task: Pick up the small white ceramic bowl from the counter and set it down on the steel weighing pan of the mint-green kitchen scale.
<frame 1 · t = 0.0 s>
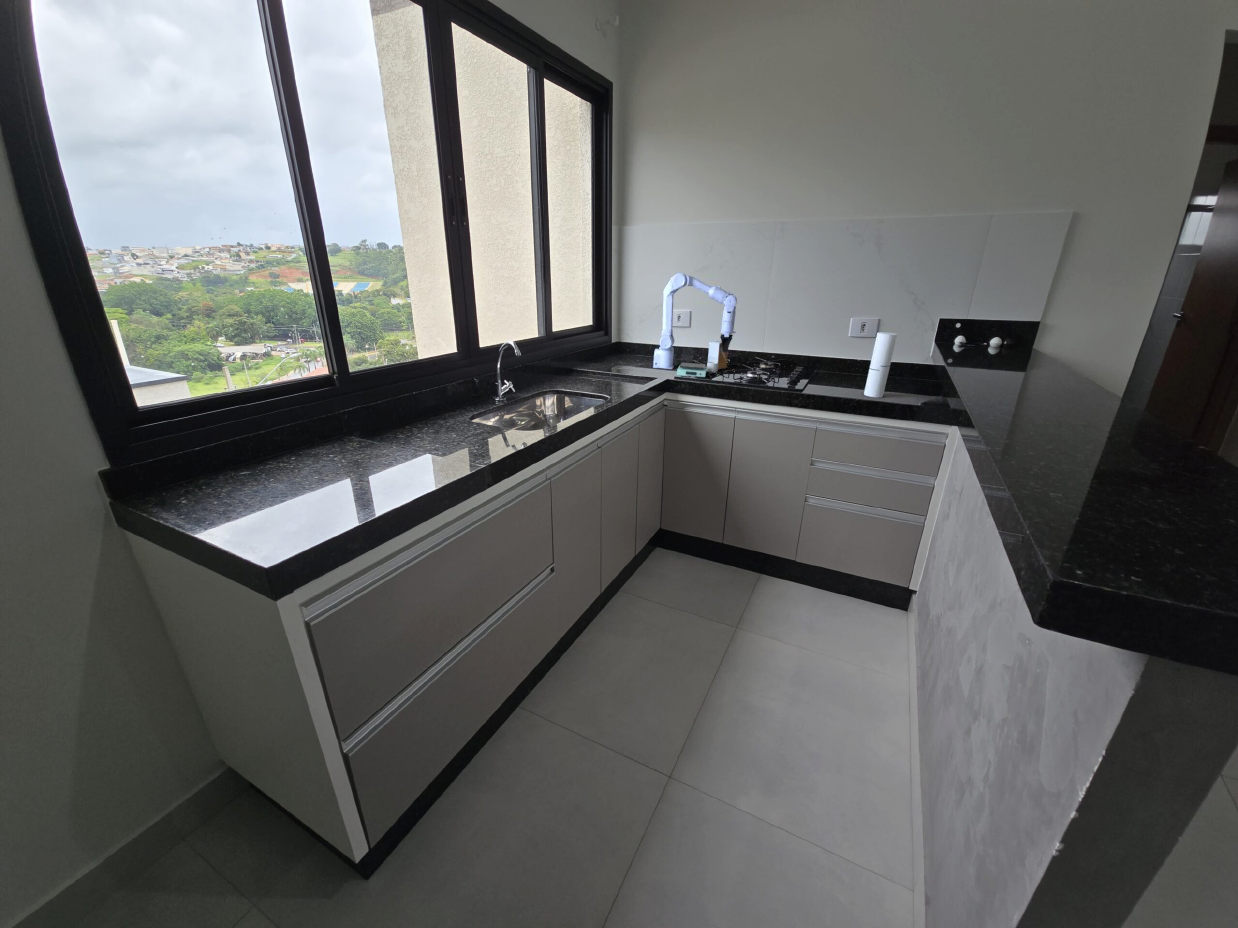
hand: (724, 350, 241), 10 cm above the countertop, tool pointing down, fingers open, 7 cm apart
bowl: (711, 371, 244), on the countertop
cylindrical container: (873, 395, 209), on the countertop
scale: (691, 373, 237), on the countertop
small box: (716, 368, 254), on the countertop
scale pan: (692, 366, 236), point 4 cm above the countertop, slide at 0.0 cm
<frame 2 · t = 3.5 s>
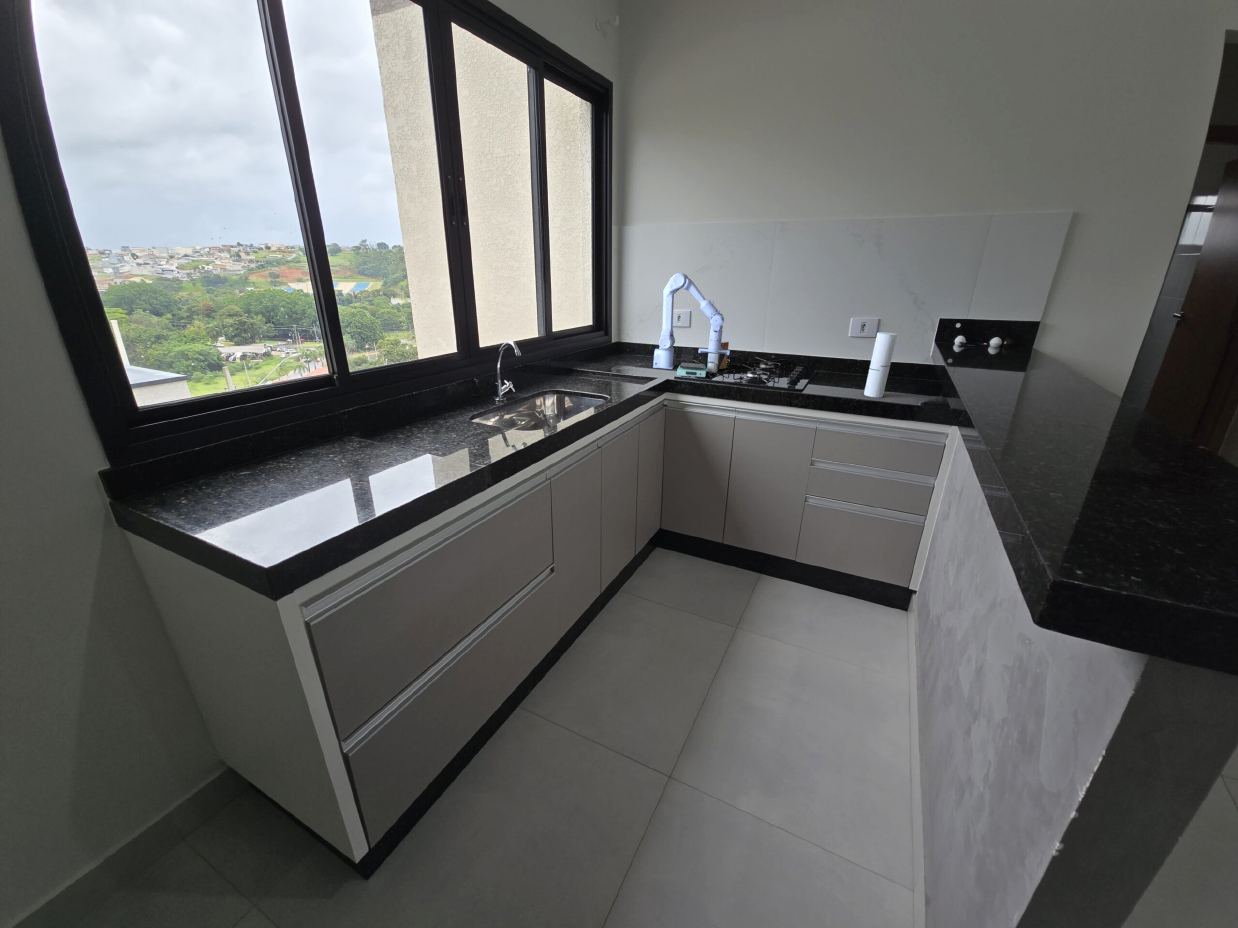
hand: (712, 369, 243), 1 cm above the countertop, tool pointing down, fingers closed on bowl, 5 cm apart
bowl: (711, 371, 244), on the countertop, touching gripper
everything else where it was.
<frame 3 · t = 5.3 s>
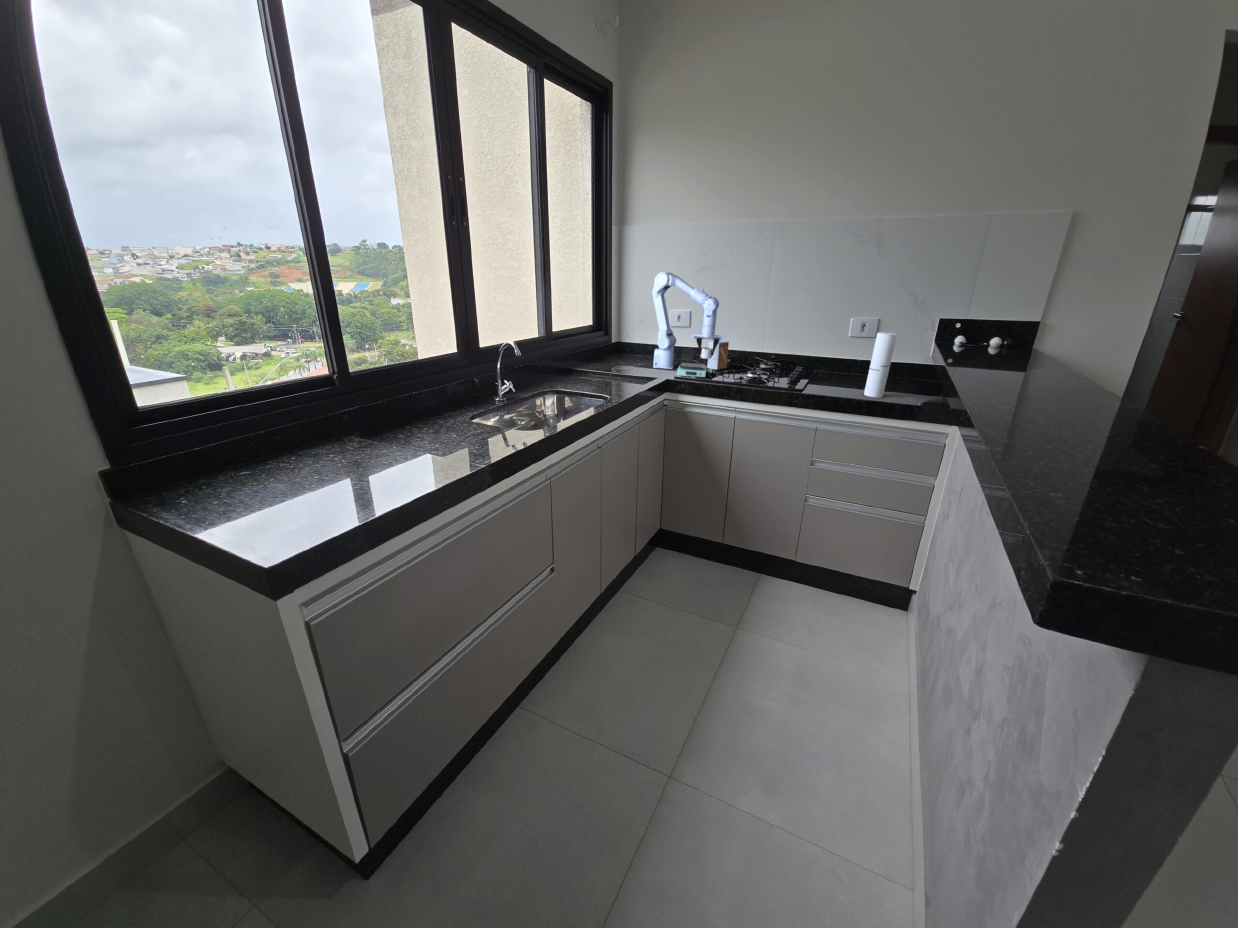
hand: (706, 355, 238), 8 cm above the countertop, tool pointing down, fingers closed on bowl, 5 cm apart
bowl: (705, 358, 239), point 7 cm above the countertop, touching gripper
everything else where it was.
when the fingers open (5 cm above the countertop, at t = 7.2 s): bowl stays where it is, resting on scale pan.
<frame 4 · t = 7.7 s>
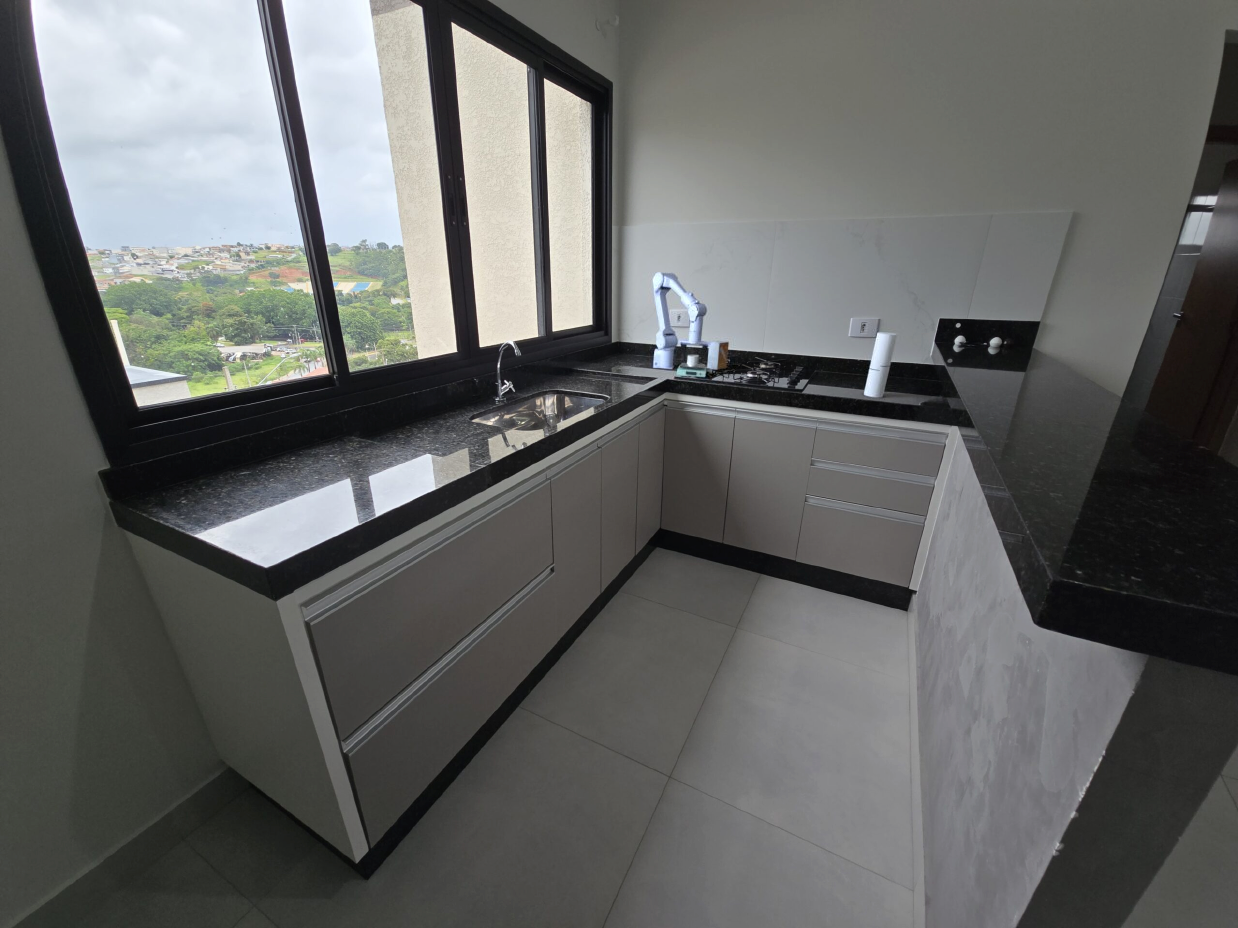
hand: (692, 361, 235), 6 cm above the countertop, tool pointing down, fingers open, 7 cm apart
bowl: (692, 365, 236), point 4 cm above the countertop, touching scale pan
scale pan: (692, 366, 236), point 4 cm above the countertop, slide at -0.1 cm, touching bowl
everything else where it was.
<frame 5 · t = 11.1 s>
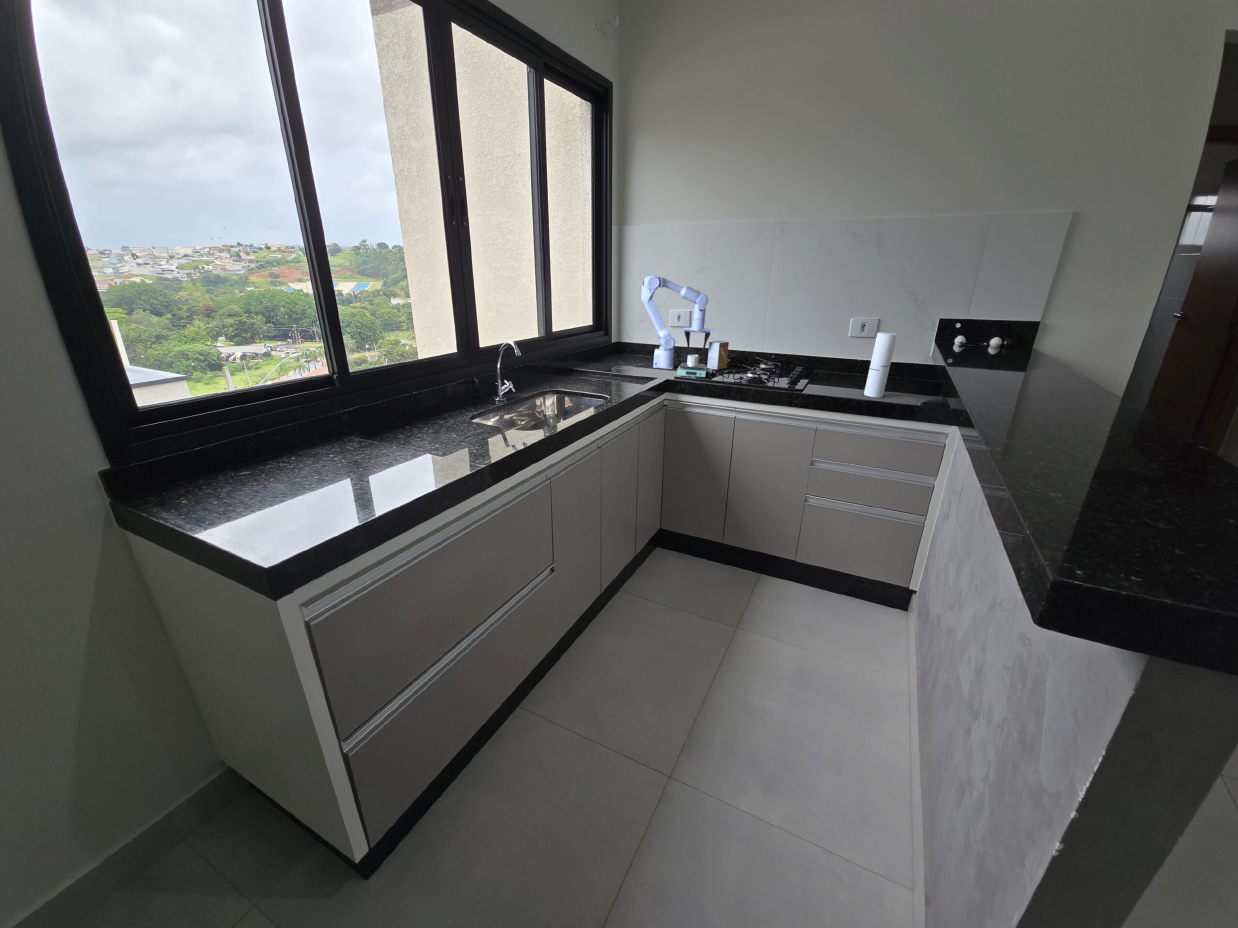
hand: (696, 347, 248), 10 cm above the countertop, tool pointing down, fingers open, 7 cm apart
nothing on the countertop moved.
at the end: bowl 0.0 cm off-centre on the scale, point 4.0 cm above the scale's base; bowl tilted 0° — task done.
